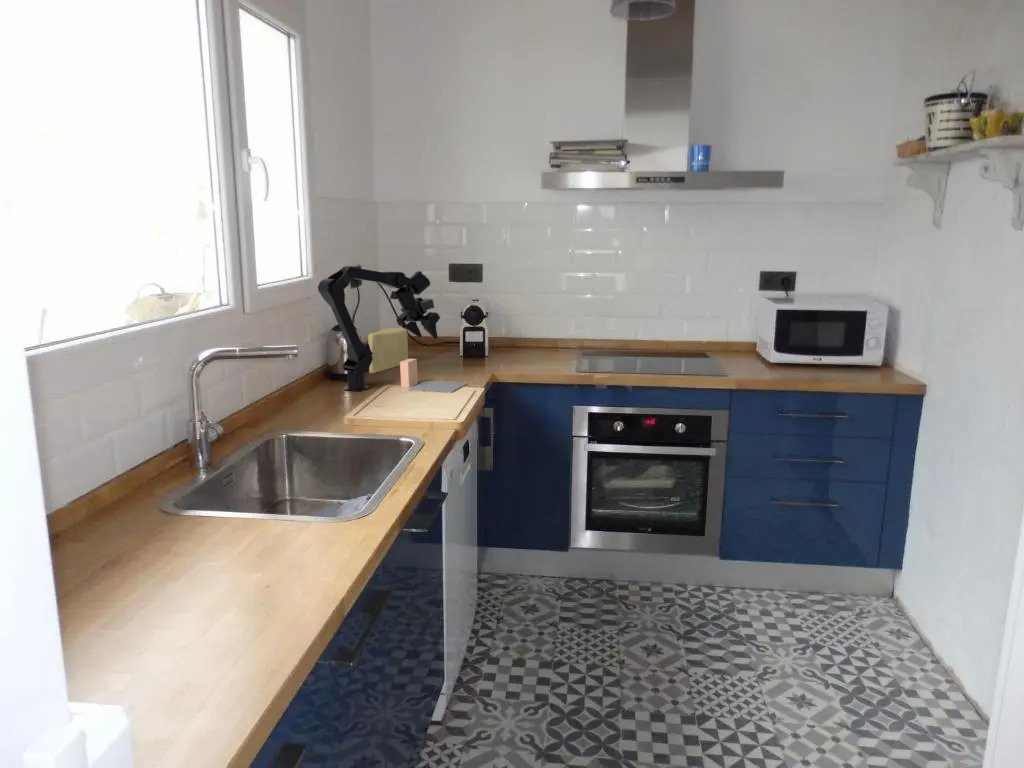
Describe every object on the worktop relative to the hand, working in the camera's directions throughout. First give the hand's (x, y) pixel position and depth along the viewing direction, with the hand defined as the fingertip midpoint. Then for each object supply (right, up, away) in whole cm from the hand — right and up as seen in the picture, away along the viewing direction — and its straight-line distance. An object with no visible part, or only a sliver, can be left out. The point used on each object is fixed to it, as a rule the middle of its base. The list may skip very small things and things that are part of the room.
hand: (428, 337), depth 276 cm
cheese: (-19, -11, +21) cm, 31 cm away
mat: (+5, -18, -16) cm, 24 cm away
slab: (-5, -18, -12) cm, 22 cm away
